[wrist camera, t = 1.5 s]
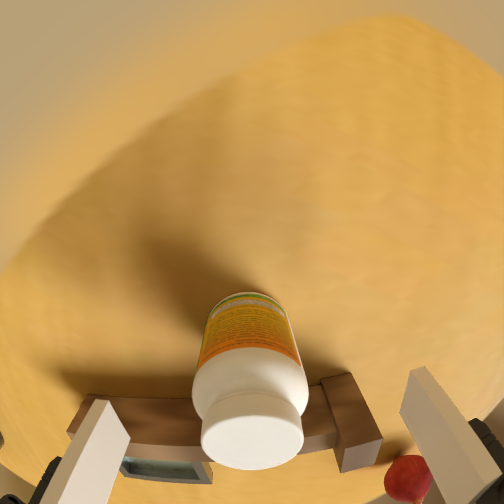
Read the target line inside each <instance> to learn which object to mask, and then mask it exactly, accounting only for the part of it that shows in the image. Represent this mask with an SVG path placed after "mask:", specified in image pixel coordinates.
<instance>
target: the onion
mask: <svg viewBox="0 0 504 504" xmlns="http://www.w3.org/2000/svg"><path fill="white" fill-rule="evenodd" d="M432 480H433V475H432V473H431V471H430V469H429V467H428V465H427V464H426V462H425V460H424V458H423V457H422V456H419V455H405V456H404V455H402V456H398V457H396V458H395V460H394V462H393V463H392V465H391V466H390V468H389V469H388V471H387V473H386V475H385V478H384V486H385V491H386V492H387V494H388V495H389V496H390V497H391V498H393V499H395V500H397V501H402V502H412V503H413V504H422V501H423V499H424V497H425V495H426V494H427V492H428V491H429V489H430V487H431V484H432Z"/></svg>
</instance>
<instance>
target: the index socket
mask: <svg viewBox="0 0 504 504" xmlns="http://www.w3.org/2000/svg"><path fill="white" fill-rule="evenodd" d="M119 471H120V472H121V473H122V474H123V475H124V477H130V478H136V479H143V480H151V481H160V482H172V483H187V484H212V481H213V472H212V470H211V468H210V466H209V464H208V462H185V461H165V460H153V459H143V458H134V457H127V456H124V457H123V460H122V462H121V465H120V468H119Z"/></svg>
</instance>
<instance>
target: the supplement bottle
mask: <svg viewBox="0 0 504 504" xmlns="http://www.w3.org/2000/svg"><path fill="white" fill-rule="evenodd" d="M308 396H309V392H308V384H307V379H306V375H305V372H304V369H303V365H302V362H301V359H300V355H299V352H298V348H297V345H296V341H295V338H294V335H293V331H292V328H291V324H290V321H289V318H288V316H287V314H286V312H285V310H284V309H283V307H282V306H281V305H280V304H279V303H278V302H276V301H275V300H274V299H272V298H271V297H269V296H267V295H264V294H261V293H257V292H240V293H236V294H233V295H230V296H228V297H226V298H224V299H223V300H221V301H220V302H219V303H218V304H217V305H216V306H215V307H214V308H213V309H212V311H211V312H210V314H209V317H208V319H207V323H206V327H205V332H204V336H203V341H202V346H201V350H200V355H199V359H198V364H197V368H196V372H195V377H194V382H193V388H192V400H193V404H194V407H195V410H196V412H197V413H198V415H199V416H200V418H201V419H202V420H203V422H202V430H201V446H202V449H203V450H204V452H205V453H206V454H207V455H208V456H209V457H210V458H211V459H212V460H214V461H216V462H217V463H219V464H222V465H224V466H227V467H231V468H235V469H242V470H260V469H267V468H271V467H275V466H278V465H280V464H283V463H285V462H287V461H288V460H290V459H292V458H293V457H294V456H295V455H296V454H297V453H298V452H299V451H300V449H301V448H302V445H303V442H304V435H303V430H302V424H301V418H300V416H301V415H302V413H303V412H304V410H305V408H306V405H307V402H308Z"/></svg>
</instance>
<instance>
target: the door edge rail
mask: <svg viewBox="0 0 504 504" xmlns="http://www.w3.org/2000/svg"><path fill="white" fill-rule="evenodd" d="M308 392H309V396H308V402H307V405H306V408H305V410H304V412H303V413H302V415H301V416H300V418H301V424H302V430H303V435H304V442H303V445H302V448H301V449H300V451H299V452H298V453H297V454H296V455H299V454H305V453H311V452H316V451H321V450H326V449H331V448H333V450H334V453H335V457H336V460H337V463H338V467H339V470H340V473H343V472H347V471H351V470H355V469H359V468H363V467H366V466H369V465H373V464H375V461H376V458H377V455H378V452H379V449H380V446H381V443H382V440H383V437H382V435H381V433H380V431H379V429H378V427H377V424H376V422H375V420H374V418H373V416H372V414H371V412H370V410H369V408H368V406H367V404H366V402H365V400H364V398H363V396H362V394H361V392H360V390H359V388H358V386H357V384H356V382H355V380H354V378H353V376H352V374H351V373H348V374H343V375H338V376H333V377H328V378H323V379H321V385H315V386H310V387H308ZM95 399H99V400H108V401H109V402H110V404H111V405H112V407H113V409H114V411H115V413H116V415H117V416H118V418H119V420H120V422H121V423H122V425H123V427H124V428H125V430H126V432H127V433H128V435H129V437H130V438H131V439H130V441H129V444H128V446H127V449H126V452H125V454H124V456H127V457H134V458H143V459H153V460H165V461H185V462H216V461H214V460H212V459H211V458H210V457H209V456H208V455H207V454H206V453H205V452H204V450H203V449H202V446H201V430H202V422H203V420H202V419H201V418H200V416H199V415H198V413H197V412H196V410H195V407H194V404H193V400H192V398H182V399H157V398H128V397H112V396H100V395H90V394H88V395H87V397H86V399H85V400H84V402H83V404H82V405H81V407H80V409H79V410H78V412H77V414H76V415H75V417H74V419H73V420H72V422H71V424H70V426H69V427H68V429H67V431H66V432H67V434H68V435H69V437H70V438H71V439H73V438H74V436H75V434H76V432H77V430H78V429H79V427H80V425H81V423H82V422H83V420H84V418H85V416H86V415H87V413H88V411H89V409H90V408H91V406H92V404H93V403H94V401H95Z"/></svg>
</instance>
